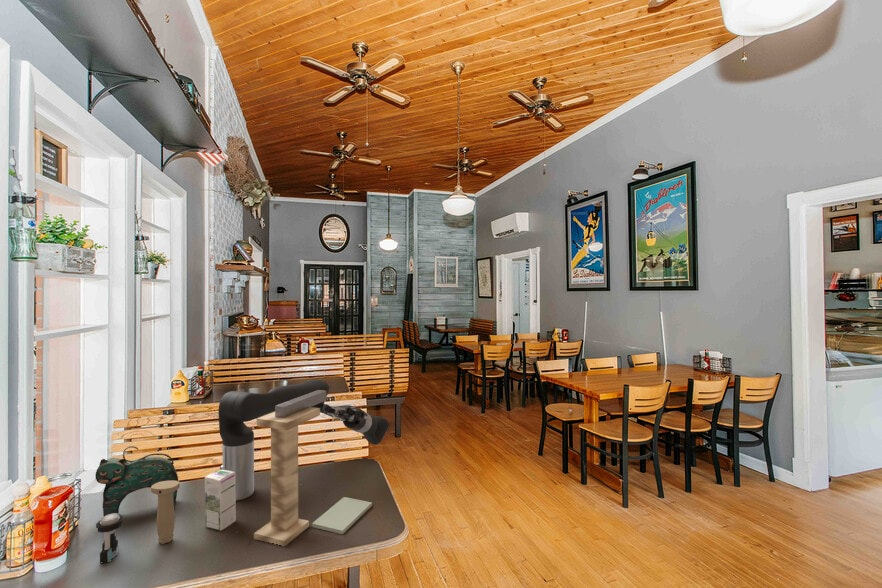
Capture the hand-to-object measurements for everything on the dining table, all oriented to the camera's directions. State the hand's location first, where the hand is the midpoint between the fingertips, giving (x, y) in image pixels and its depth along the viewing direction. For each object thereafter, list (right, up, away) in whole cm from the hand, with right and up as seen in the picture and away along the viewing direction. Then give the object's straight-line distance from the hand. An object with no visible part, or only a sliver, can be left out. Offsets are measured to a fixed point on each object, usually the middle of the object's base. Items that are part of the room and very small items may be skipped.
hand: (335, 408), depth 138 cm
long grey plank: (-6, +4, -15) cm, 17 cm away
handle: (-38, -28, -27) cm, 54 cm away
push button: (-48, -28, -33) cm, 64 cm away
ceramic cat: (-56, -28, -12) cm, 63 cm away
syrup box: (-28, -28, -19) cm, 44 cm away
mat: (+6, -28, -15) cm, 32 cm away
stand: (-8, -28, -21) cm, 36 cm away
